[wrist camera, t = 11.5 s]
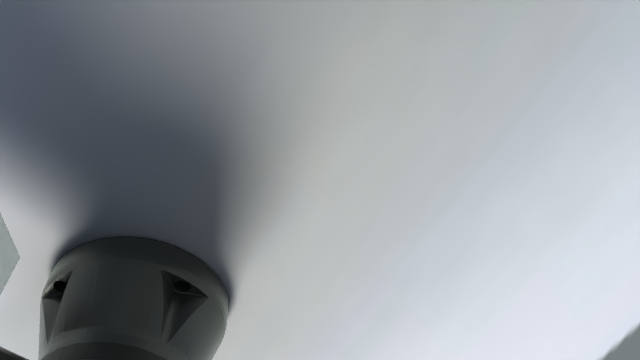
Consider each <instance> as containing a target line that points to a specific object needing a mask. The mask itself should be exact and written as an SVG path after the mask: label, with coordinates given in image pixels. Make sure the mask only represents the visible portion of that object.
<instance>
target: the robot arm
mask: <svg viewBox="0 0 640 360" xmlns="http://www.w3.org/2000/svg"><path fill="white" fill-rule="evenodd" d="M19 258H20V256H19V254H18V251H17V249H16V247H15V245H14V243H13V240H12V238H11V236H10V234H9V231H8V229H7V227H6V225H5V222H4V220H3V218H2V216H1V213H0V295H1V293H2V291H3V289H4V287H5V285H6V283H7V281H8V279H9V278H10V276H11V274H12V272H13V270H14V268H15V266H16V264H17V262H18V260H19ZM228 310H229V301H228V296H227V293H226V290H225V288H224V286H223V284H222V282H221V281H220V279H219V278H218V277H217V275H216V274H215V273H214V272H213V271H212V270H211V269H210V268H209V267H208V266H207V265H205V264H204V263H203V262H202V261H200V260H199V259H197V258H196V257H194V256H192V255H191V254H189V253H187V252H185V251H183V250H181V249H178V248H176V247H173V246H171V245H168V244H165V243H161V242H157V241H153V240H148V239H141V238H130V237H117V238H106V239H100V240H95V241H92V242H88V243H85V244H83V245H80V246H78V247H76V248H74V249H72V250H71V251H69V252H68V253H67V254H65V255H64V256H63V257H62V258H61V259H60V260H59V261H58V262H57V263H56V265H55V266H54V268H53V270H52V272H51V274H50V277H49V279H48V281H47V283H46V285H45V287H44V290H43V293H42V297H41V304H40V332H39V360H212V358H213V356H214V354H215V353H216V351H217V349H218V347H219V345H220V344H221V342H222V339H223V337H224V334H225V330H226V324H227V317H228ZM0 360H28V359H26V358H24V357H22V356H19V355H17V354H15V353H13V352H11V351H9V350H6V349H4V348H2V347H0Z"/></svg>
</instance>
